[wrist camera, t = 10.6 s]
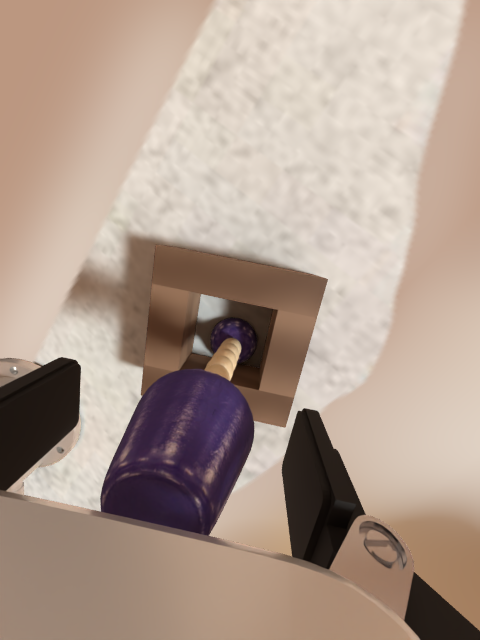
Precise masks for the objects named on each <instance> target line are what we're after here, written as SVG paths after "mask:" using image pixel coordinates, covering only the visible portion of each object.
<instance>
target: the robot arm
mask: <svg viewBox="0 0 480 640" xmlns="http://www.w3.org/2000/svg"><path fill="white" fill-rule="evenodd" d="M80 376H81V366H80V365H79V364H78V362H77V361H76V360H73V359H68V358H63V357H61V358H58V359H56V360H54V361H52V362H50V363H48V364H46V365H44V366H42V367H41V366H39V365H36V364H34V363H32V362H29V361H25V360H21V359H14V358H13V359H12V358H6V359H0V640H480V631H479V630H478V629H477V628H476V627H474V626H473V625H472V624H471V623H470V622H469V621H468V620H467V619H466V618H464V617H463V616H462V615H461V614H460V613H459V612H458V611H457V610H456V609H455V608H453V607H452V606H451V605H450V604H449V603H448V602H447V601H445V600H444V599H443V598H442V597H441V596H440V595H439V594H438V593H437V592H436V591H434V590H433V589H432V588H431V587H430V586H429V585H428V584H427V583H426V582H425V581H423V580H422V579H421V578H420V577H419V576H418V575H417V574H416V573H415V572H414V561H413V558H412V555H411V552H410V550H409V549H408V547H407V545H406V543H405V542H404V541H403V539H402V538H401V537H400V536H399V535H398V533H397V532H395V531H394V530H393V529H392V528H391V527H390V526H389V525H387V524H386V523H384V522H383V521H381V520H380V519H377V518H375V517H373V516H368V515H366V514H365V512H364V510H363V507H362V505H361V503H360V501H359V498H358V496H357V494H356V491H355V489H354V486H353V484H352V482H351V480H350V477H349V475H348V473H347V470H346V468H345V466H344V464H343V461H342V459H341V456H340V454H339V452H338V451H337V450H336V449H333V446H332V444H331V441H330V439H329V436H328V434H327V432H326V429H325V427H324V424H323V422H322V419H321V417H320V415H319V412H318V411H315V410H310V409H305V408H304V409H303V410H302V411H298V413H297V416H296V419H295V423H294V426H293V429H292V433H291V436H290V440H289V443H288V447H287V450H286V454H285V457H284V460H283V465H282V476H283V484H284V492H285V501H286V508H287V517H288V525H289V533H290V542H291V549H292V557H291V556H288V555H285V554H281V553H277V552H273V551H269V550H265V549H261V548H257V547H253V546H249V545H244V544H241V543H237V542H233V541H229V540H224V539H220V538H215V537H211V536H207V535H202V534H198V533H193V532H189V531H185V530H180V529H176V528H171V527H167V526H163V525H158V524H154V523H149V522H145V521H140V520H136V519H131V518H127V517H122V516H118V515H113V514H109V513H104V512H100V511H95V510H91V509H86V508H81V507H77V506H72V505H68V504H63V503H59V502H54V501H49V500H45V499H40V498H35V497H31V496H26V495H24V482H23V480H24V479H25V478H27V477H28V476H29V475H30V474H31V473H32V472H33V471H34V470H35V469H36V468H37V467H45V466H49V465H52V464H54V463H57V462H59V461H60V460H61V459H63V458H64V457H65V456H66V455H67V454H68V453H69V452H70V451H71V450H72V449H73V448H74V446H75V445H76V443H77V441H78V439H79V435H80V431H81V419H80V413H79V405H80Z"/></svg>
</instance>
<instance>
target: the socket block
mask: <svg viewBox="0 0 480 640" xmlns="http://www.w3.org/2000/svg"><path fill="white" fill-rule="evenodd" d="M327 281H328V279H326V278H323V277H319V276H316V275H312V274H307V273H302V272H297V271H292V270H287V269H282V268H277V267H272V266H267V265H262V264H257V263H253V262H248V261H243V260H238V259H233V258H228V257H223V256H218V255H213V254H208V253H203V252H198V251H193V250H188V249H183V248H178V247H172V246H164V245H157V244H156V246H155V256H154V267H153V277H152V287H151V297H150V307H149V317H148V327H147V338H146V348H145V358H144V368H143V378H142V388H141V395H142V396H143V395H144V393H145V392H146V391H147V389H148V388H149V387H150V386H151V385H152V384H153V383H154V382H156V381H157V380H158V379H159V378H161V377H163V376H164V375H166V374H168V373H171V372H174V371H178V370H184V369H202V370H205V369H206V366H207V364H208V362H209V361H210V360H211V359H212V357H207V356H203V355H198V354H193V353H192V348H193V342H194V335H195V329H196V322H197V316H198V309H199V303H200V296H201V294H204V295H209V296H214V297H218V298H223V299H228V300H233V301H238V302H243V303H247V304H252V305H257V306H262V307H267V308H271V309H273V312H272V316H271V320H270V325H269V329H268V333H267V337H266V342H265V346H264V350H263V354H262V359H261V363H260V367H259V368H258V367H253V366H249V365H244V364H236V367H235V369H234V371H233V375H232V378H231V380H230V382H231V383H233V384H234V386H235V387H237V388H238V389H239V390H240V392H241V393H242V395H243V396H244V397H245V398H246V400H247V402H248V404H249V407H250V409H251V412H252V415H253V421H258V422H262V423H267V424H271V425H276V426H280V427H286V424H287V420H288V417H289V413H290V410H291V406H292V403H293V399H294V396H295V392H296V389H297V385H298V382H299V378H300V375H301V371H302V368H303V364H304V361H305V357H306V354H307V350H308V347H309V343H310V340H311V336H312V333H313V329H314V326H315V322H316V319H317V315H318V312H319V308H320V305H321V301H322V298H323V294H324V291H325V287H326V284H327Z"/></svg>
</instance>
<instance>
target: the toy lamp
mask: <svg viewBox="0 0 480 640" xmlns="http://www.w3.org/2000/svg"><path fill="white" fill-rule="evenodd" d="M256 346H257V336H256V333H255V331H254V329H253V328H252V326H251V325H250V324H249V323H247V322H246V321H244V320H242V319H239V318H227V319H224V320H222V321H220V322H219V323H218V324H217V325H216V326H215V327H214V329H213V331H212V333H211V347H212V350H213V352H214V355H213V357H212V359H211V360H210V361H209V362H208V364H207V366H206V369H205V370H202V369H184V370H178V371H174V372H171V373H168V374H166V375H164V376H163V377H161V378H159V379H158V380H157V381H156V382H154V383H153V384H152V385H151V386H150V387H149V388H148V389H147V391H146V392H145V393H144V395H143V396H142V398H141V400H140V401H139V403H138V405H137V407H136V409H135V412H134V414H133V416H132V418H131V420H130V422H129V424H128V427H127V429H126V431H125V433H124V435H123V438H122V440H121V442H120V444H119V446H118V448H117V451H116V453H115V455H114V457H113V460H112V462H111V464H110V467H109V469H108V472H107V474H106V477H105V480H104V483H103V487H102V492H101V498H100V500H101V512H104V513H109V514H113V515H118V516H122V517H127V518H131V519H136V520H140V521H145V522H149V523H154V524H158V525H163V526H167V527H171V528H176V529H180V530H185V531H189V532H193V533H198V534H202V535H207V536H209V534H210V533H211V531H212V529H213V527H214V526H215V524H216V522H217V520H218V518H219V516H220V514H221V512H222V510H223V508H224V506H225V504H226V502H227V500H228V498H229V496H230V494H231V492H232V490H233V488H234V486H235V483H236V481H237V479H238V477H239V475H240V473H241V471H242V468H243V466H244V464H245V462H246V460H247V458H248V455H249V453H250V451H251V447H252V444H253V439H254V421H253V415H252V412H251V409H250V407H249V404H248V402H247V400H246V398H245V397H244V396H243V395H242V393H241V392H240V390H239V389H238V388H237V387H235V386H234V384H233V383H231V382H230V380H231V378H232V375H233V371H234V369H235V367H236V364H239V363H242V362H244V361H246V360H247V359H249V358H250V357H251V356H252V355H253V353H254V351H255V349H256Z"/></svg>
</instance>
